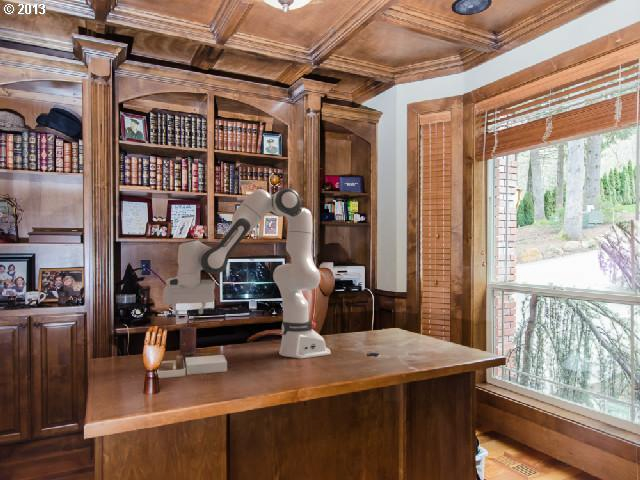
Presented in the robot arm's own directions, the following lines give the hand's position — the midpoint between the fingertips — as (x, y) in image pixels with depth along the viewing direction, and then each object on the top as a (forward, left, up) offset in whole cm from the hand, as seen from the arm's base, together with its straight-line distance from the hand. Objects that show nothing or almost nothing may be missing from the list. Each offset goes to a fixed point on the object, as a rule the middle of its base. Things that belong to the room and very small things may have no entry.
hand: (188, 314), depth 179 cm
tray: (+7, +13, -19) cm, 24 cm away
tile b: (+9, +13, -16) cm, 23 cm away
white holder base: (-6, +13, -19) cm, 24 cm away
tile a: (+3, +13, -16) cm, 21 cm away
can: (0, 0, -19) cm, 19 cm away
